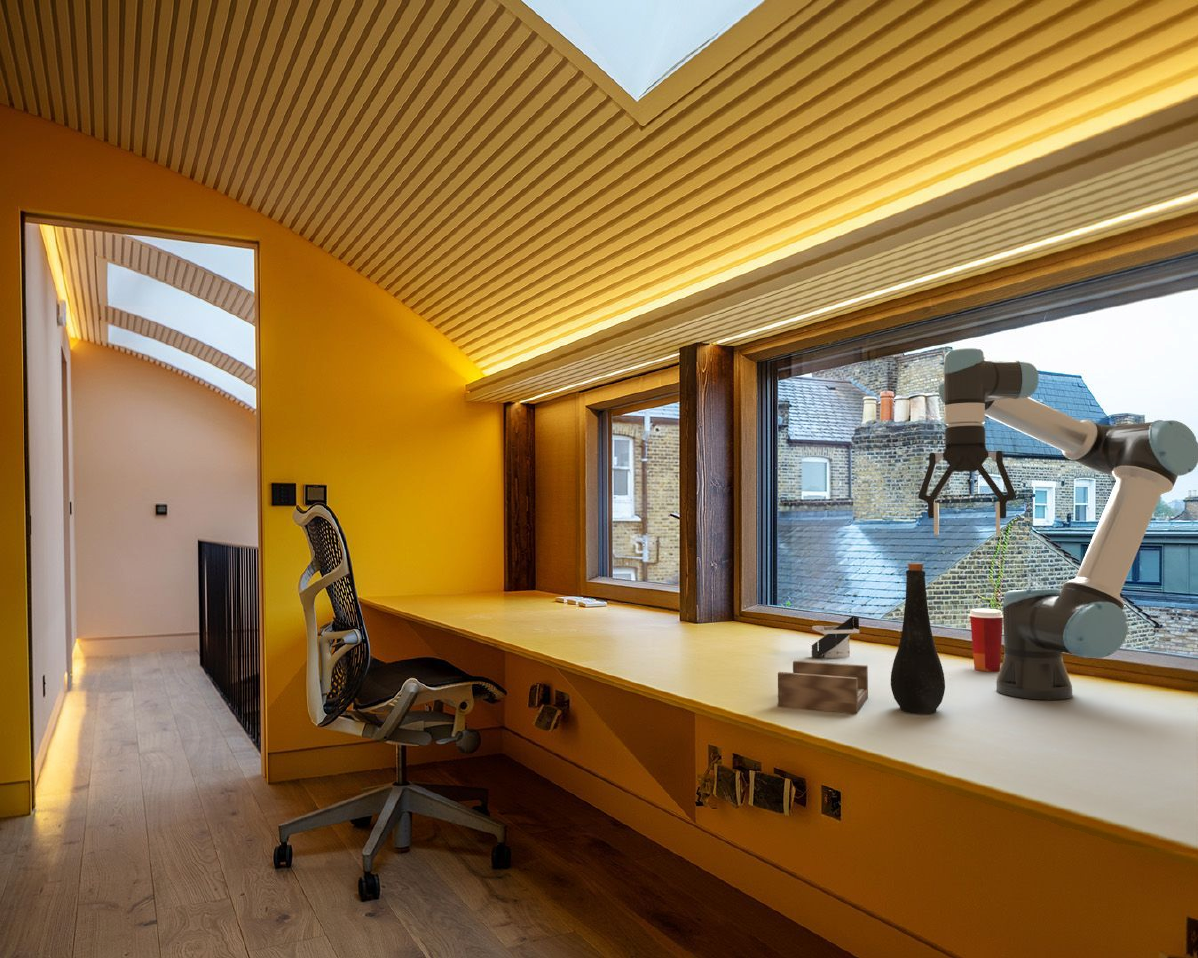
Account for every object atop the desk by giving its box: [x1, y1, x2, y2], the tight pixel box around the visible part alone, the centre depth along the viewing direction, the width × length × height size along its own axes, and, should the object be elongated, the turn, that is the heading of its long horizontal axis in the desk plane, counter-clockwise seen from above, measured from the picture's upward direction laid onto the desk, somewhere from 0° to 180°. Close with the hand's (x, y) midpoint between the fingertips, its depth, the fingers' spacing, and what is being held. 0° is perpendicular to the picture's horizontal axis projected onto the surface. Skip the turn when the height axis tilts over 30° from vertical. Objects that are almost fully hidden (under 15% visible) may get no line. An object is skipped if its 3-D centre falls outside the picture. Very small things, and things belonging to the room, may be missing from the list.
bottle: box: [890, 562, 946, 715], centre depth 181 cm, size 11×11×30 cm
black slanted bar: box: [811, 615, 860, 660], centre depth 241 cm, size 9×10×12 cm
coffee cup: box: [967, 608, 1003, 673], centre depth 224 cm, size 8×8×15 cm
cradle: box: [777, 660, 869, 715], centre depth 189 cm, size 16×16×7 cm
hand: (967, 535), depth 178 cm, fingers open, 11 cm apart
